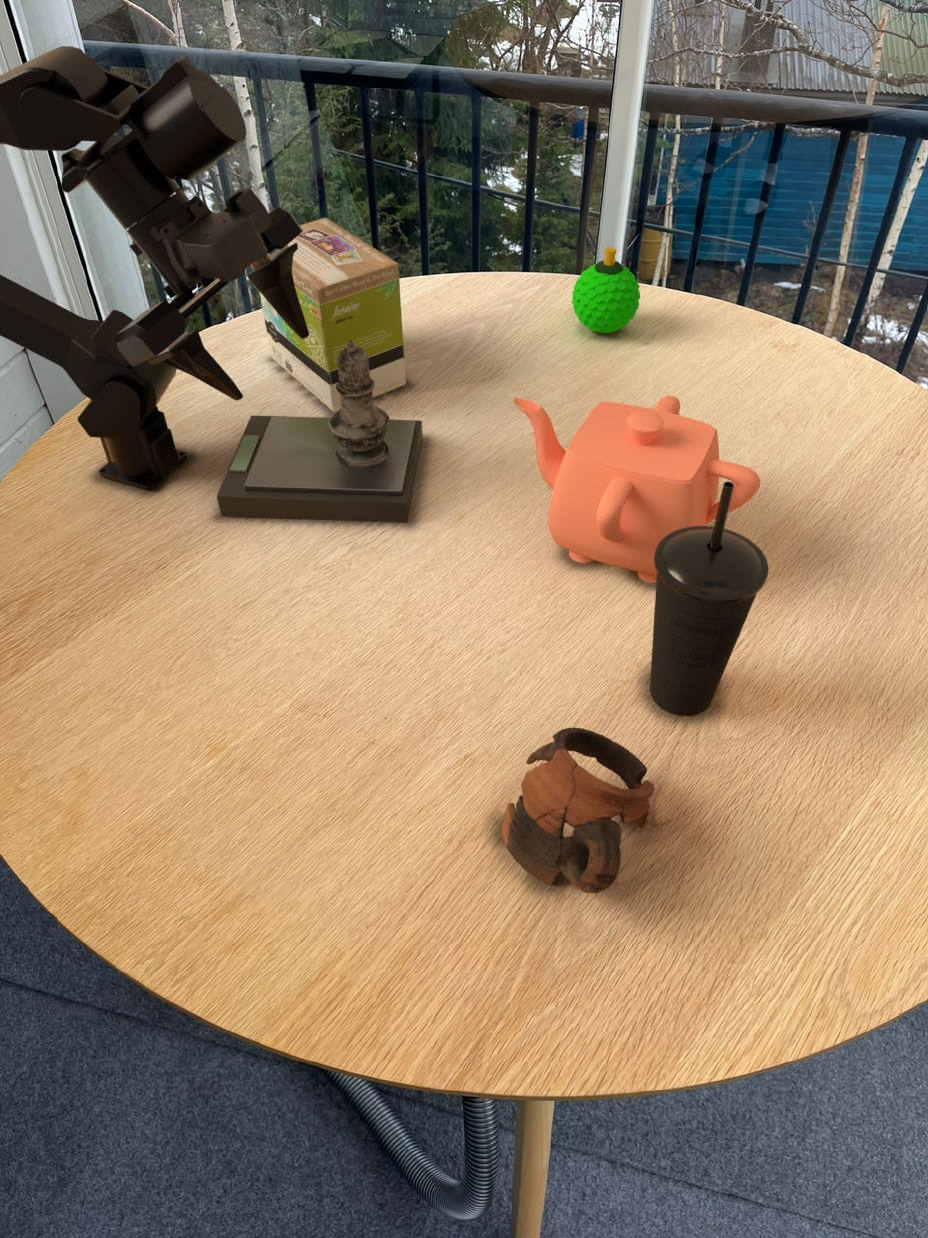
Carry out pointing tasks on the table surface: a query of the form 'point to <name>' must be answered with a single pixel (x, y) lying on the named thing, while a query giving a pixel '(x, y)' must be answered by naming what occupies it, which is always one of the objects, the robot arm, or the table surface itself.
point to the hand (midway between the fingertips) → (273, 367)
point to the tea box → (340, 312)
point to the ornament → (606, 295)
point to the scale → (303, 503)
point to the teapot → (632, 480)
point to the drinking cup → (700, 609)
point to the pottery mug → (576, 811)
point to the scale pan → (325, 460)
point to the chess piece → (358, 413)
